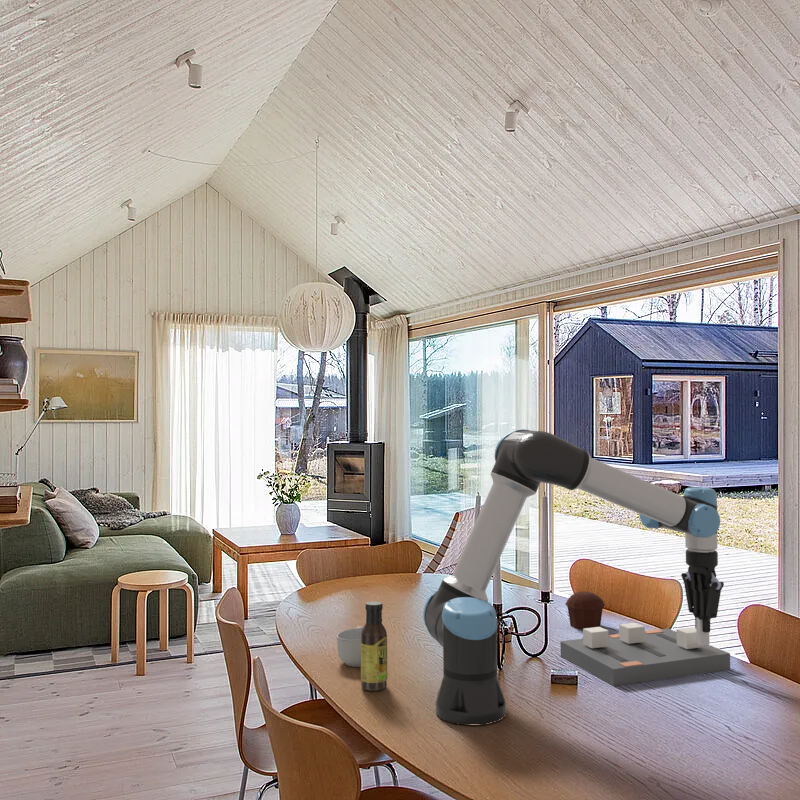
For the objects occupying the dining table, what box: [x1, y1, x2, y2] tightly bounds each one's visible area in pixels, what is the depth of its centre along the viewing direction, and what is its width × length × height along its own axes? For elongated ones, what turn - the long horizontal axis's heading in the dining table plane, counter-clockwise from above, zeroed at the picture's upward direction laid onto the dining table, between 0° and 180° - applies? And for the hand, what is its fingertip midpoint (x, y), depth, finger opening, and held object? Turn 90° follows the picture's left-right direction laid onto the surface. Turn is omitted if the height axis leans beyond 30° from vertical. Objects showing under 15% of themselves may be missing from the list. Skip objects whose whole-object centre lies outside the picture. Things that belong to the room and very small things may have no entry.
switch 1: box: [582, 626, 610, 648], centre depth 203 cm, size 4×5×4 cm
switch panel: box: [559, 628, 731, 687], centre depth 202 cm, size 24×34×4 cm
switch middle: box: [618, 622, 646, 644], centre depth 206 cm, size 4×5×4 cm
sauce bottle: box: [360, 600, 388, 692], centre depth 186 cm, size 6×6×20 cm
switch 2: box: [675, 626, 703, 649], centre depth 202 cm, size 4×5×4 cm
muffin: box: [565, 591, 606, 631], centre depth 237 cm, size 12×11×10 cm
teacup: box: [336, 626, 363, 668], centre depth 206 cm, size 14×11×8 cm
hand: (702, 643), depth 197 cm, fingers closed
